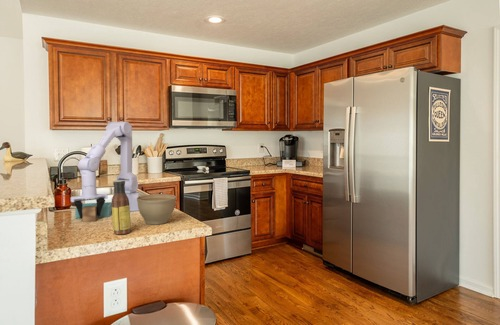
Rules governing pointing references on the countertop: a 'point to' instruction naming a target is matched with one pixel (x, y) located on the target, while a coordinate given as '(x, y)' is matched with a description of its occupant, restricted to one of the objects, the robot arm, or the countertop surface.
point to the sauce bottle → (120, 209)
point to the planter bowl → (156, 207)
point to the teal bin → (104, 212)
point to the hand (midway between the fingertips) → (90, 216)
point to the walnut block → (89, 213)
